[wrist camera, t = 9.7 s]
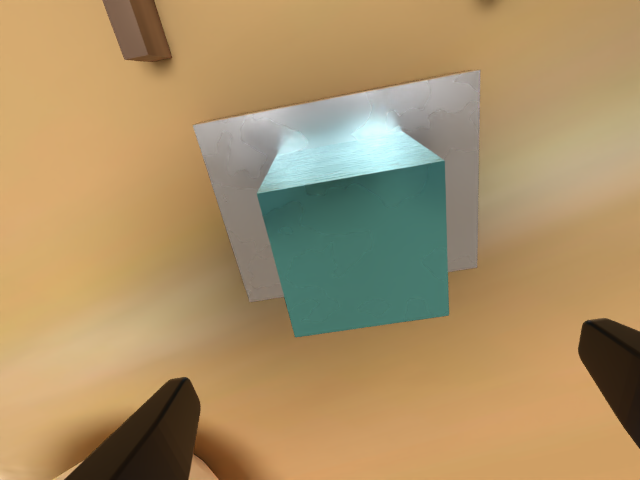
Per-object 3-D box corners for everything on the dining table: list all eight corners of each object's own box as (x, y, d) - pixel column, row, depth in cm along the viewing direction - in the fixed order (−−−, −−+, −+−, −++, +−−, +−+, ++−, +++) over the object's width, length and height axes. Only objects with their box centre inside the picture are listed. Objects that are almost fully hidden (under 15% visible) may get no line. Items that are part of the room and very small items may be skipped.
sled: (469, 70, 16) (570, 67, 10) (468, 257, 20) (538, 342, 14) (200, 121, 17) (128, 151, 11) (253, 290, 21) (224, 385, 15)
